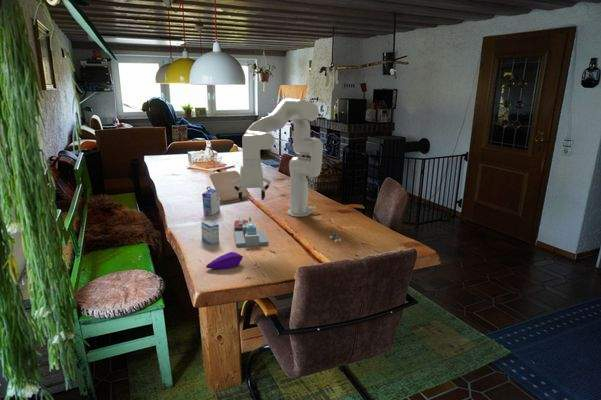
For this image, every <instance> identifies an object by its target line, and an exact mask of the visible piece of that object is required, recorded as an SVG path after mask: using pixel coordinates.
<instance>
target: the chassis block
mask: <svg viewBox="0 0 601 400" xmlns="http://www.w3.org/2000/svg"><path fill="white" fill-rule="evenodd" d="M255 226H256V227H257V225H256V224H255ZM233 235H234V240H235V241H234V242H235V246H236V247H237V248H238V247H239V248H240V247H253V246H254V247H257V246H258V247H259V246H268V245H269V241H268V237H267V235H266V232H265V230H264V229H256V234H248V235H247V234H246V228H245V225H243V231H233Z"/></svg>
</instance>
